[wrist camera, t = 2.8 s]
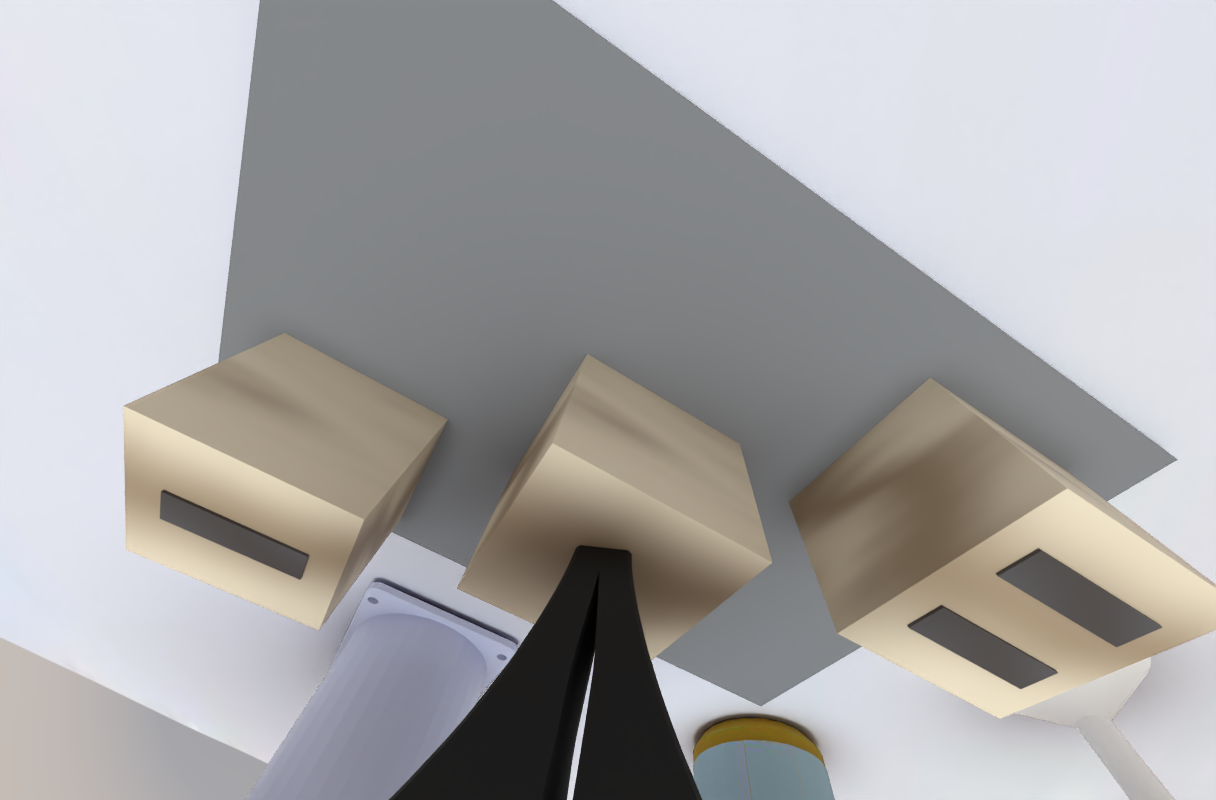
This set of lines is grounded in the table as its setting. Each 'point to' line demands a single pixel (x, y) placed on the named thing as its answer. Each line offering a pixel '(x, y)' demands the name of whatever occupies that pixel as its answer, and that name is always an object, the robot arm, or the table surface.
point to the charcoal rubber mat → (597, 281)
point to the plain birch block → (624, 507)
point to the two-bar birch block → (988, 561)
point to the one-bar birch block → (273, 475)
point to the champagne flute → (1106, 727)
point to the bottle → (759, 763)
